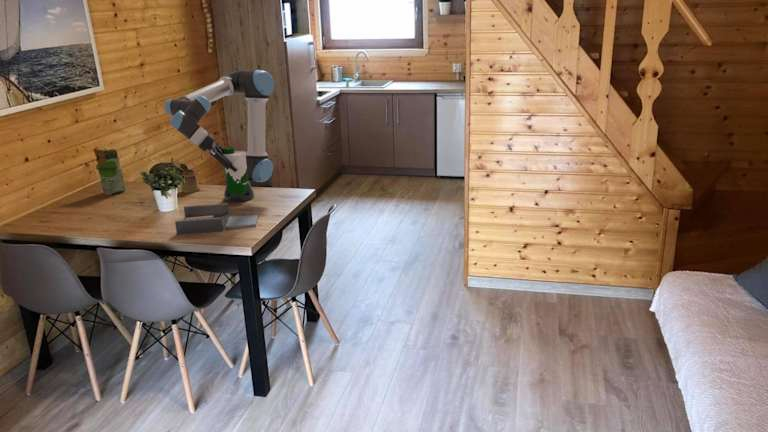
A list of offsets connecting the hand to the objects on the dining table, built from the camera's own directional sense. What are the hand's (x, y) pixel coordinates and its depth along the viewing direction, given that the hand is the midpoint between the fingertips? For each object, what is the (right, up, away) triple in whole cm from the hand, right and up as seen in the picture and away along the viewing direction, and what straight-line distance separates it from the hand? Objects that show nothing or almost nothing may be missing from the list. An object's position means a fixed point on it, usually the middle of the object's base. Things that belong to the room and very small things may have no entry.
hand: (243, 172), depth 283 cm
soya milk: (-3, -9, +3) cm, 10 cm away
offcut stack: (-19, -25, +2) cm, 32 cm away
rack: (-20, -23, +7) cm, 31 cm away
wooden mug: (-44, -6, +61) cm, 75 cm away
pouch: (-84, -7, +62) cm, 105 cm away
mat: (-2, -22, +7) cm, 24 cm away
